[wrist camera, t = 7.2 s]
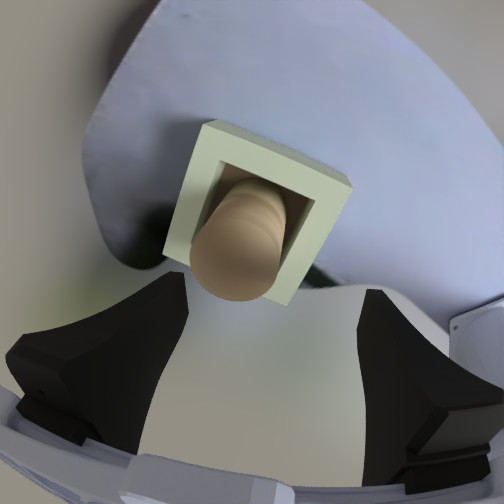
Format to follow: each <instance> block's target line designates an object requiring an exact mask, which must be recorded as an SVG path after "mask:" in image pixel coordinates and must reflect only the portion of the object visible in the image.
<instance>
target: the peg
mask: <svg viewBox="0 0 504 504" xmlns="http://www.w3.org/2000/svg"><path fill="white" fill-rule="evenodd" d="M286 217H287V202H286V199H285V196H284V194H283V193H282V191H281V190H280V189H279V188H278V187H277V186H276V185H275V184H273V183H272V182H270V181H268V180H265V179H262V178H247V179H244V180H241V181H239V182H238V183H236V184H235V185H234V186H233V187H232V188H231V189H230V190H229V192H228V193H227V194H226V196H225V197H224V199H223V200H222V201H221V203H220V204H219V205H218V207H217V208H216V210H215V211H214V213H213V214H212V215H211V217H210V218H209V220H208V221H207V222H206V224H205V225H204V227H203V228H202V230H201V231H200V232H199V234H198V235H197V237H196V238H195V240H194V242H193V243H192V246H191V249H190V254H189V260H190V266H191V269H192V272H193V274H194V276H195V278H196V279H197V280H198V282H199V283H200V284H201V285H202V286H203V287H204V288H205V289H206V290H207V291H209V292H210V293H212V294H213V295H215V296H217V297H219V298H222V299H225V300H230V301H249V300H253V299H255V298H258V297H260V296H262V295H263V294H265V293H266V292H267V291H268V290H269V289H270V288H271V287H272V286H273V284H274V282H275V280H276V278H277V274H278V269H279V262H280V256H281V250H282V243H283V237H284V230H285V224H286Z"/></svg>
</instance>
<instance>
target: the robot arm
mask: <svg viewBox="0 0 504 504" xmlns="http://www.w3.org/2000/svg"><path fill="white" fill-rule="evenodd" d="M188 314H189V310H188V303H187V295H186V287H185V279H184V273H181V272H171V271H170V272H168V273H166V274H164V275H163V276H161V277H159V278H158V279H156V280H155V281H153V282H152V283H150V284H148V285H147V286H145V287H144V288H142V289H141V290H139V291H137V292H136V293H134V294H133V295H131V296H129V297H128V298H126V299H124V300H122V301H121V302H119V303H117V304H115V305H114V306H112V307H110V308H108V309H106V310H104V311H102V312H99V313H97V314H95V315H93V316H90V317H88V318H85V319H83V320H80V321H77V322H74V323H72V324H68V325H65V326H62V327H58V328H54V329H50V330H46V331H40V332H35V333H29V334H23V335H22V336H21V337H20V338H19V340H18V341H17V342H16V343H15V344H14V346H13V347H12V348H11V349H10V350H9V351H8V352H7V354H6V357H5V358H6V364H7V366H8V368H9V370H10V372H11V374H12V375H13V376H14V378H15V380H16V381H17V383H18V384H19V386H20V387H21V389H22V390H23V392H24V393H25V395H24V396H23V398H22V399H20V398H19V397H18V396H17V395H16V394H14V393H13V392H11V391H9V390H7V389H6V388H4V387H2V386H1V385H0V459H1V460H2V461H4V462H5V463H6V464H8V465H9V466H10V467H12V468H13V469H15V470H16V471H18V472H19V473H21V474H22V475H23V476H25V477H26V478H28V479H29V480H31V481H32V482H34V483H35V484H37V485H39V486H40V487H42V488H43V489H45V490H46V491H48V492H50V493H51V494H53V495H54V496H56V497H58V498H60V499H61V500H63V501H65V502H67V503H68V504H504V298H502V299H499V300H497V301H495V302H492V303H490V304H487V305H485V306H482V307H480V308H477V309H475V310H472V311H469V312H467V313H464V314H461V315H459V316H456V317H454V318H452V319H451V320H450V323H449V329H450V349H449V358H448V357H447V356H446V355H444V354H443V353H442V352H441V351H440V350H438V349H437V348H436V347H435V346H434V345H432V344H431V343H430V342H429V341H428V340H427V339H426V338H425V337H424V336H423V335H422V334H421V333H420V332H419V331H418V330H417V329H416V328H415V327H414V326H413V325H412V324H411V323H410V322H409V321H408V320H407V318H406V317H405V316H404V315H403V314H402V313H401V312H400V310H399V309H398V308H397V307H396V306H395V305H394V303H393V302H392V301H391V300H390V299H389V297H387V295H386V294H385V293H384V292H383V291H382V290H377V289H376V290H375V289H367V290H366V295H365V299H364V303H363V307H362V311H361V315H360V319H359V323H358V326H357V349H358V356H359V363H360V369H361V375H362V381H363V388H364V394H365V404H366V442H365V459H364V471H363V479H362V487H305V486H304V487H303V486H289V485H288V484H285V483H283V482H281V481H278V480H276V479H272V478H267V477H262V476H257V475H250V474H243V473H236V472H230V471H224V470H218V469H214V468H208V467H203V466H199V465H194V464H189V463H185V462H181V461H177V460H173V459H169V458H166V457H162V456H156V455H150V454H141V455H137V452H138V448H139V443H140V439H141V435H142V431H143V428H144V424H145V420H146V416H147V413H148V410H149V407H150V404H151V401H152V397H153V395H154V392H155V389H156V386H157V383H158V381H159V379H160V376H161V374H162V372H163V370H164V368H165V366H166V364H167V362H168V360H169V358H170V356H171V354H172V352H173V350H174V348H175V347H176V344H177V343H178V341H179V339H180V336H181V334H182V332H183V329H184V326H185V324H186V320H187V317H188ZM455 326H456V327H455Z"/></svg>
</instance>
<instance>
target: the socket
mask: <svg viewBox="0 0 504 504" xmlns="http://www.w3.org/2000/svg"><path fill="white" fill-rule="evenodd" d="M247 178H262V179H265V180H268V181H270V182H272V183H273V184H275V185H276V186H277V187H278V188H279V189H280V190H281V191H282V193H283V194H284V196H285V199H286V202H287V217H286V224H285V230H284V237H283V243H282V250H281V256H280V262H279V269H278V274H277V278H276V280H275V282H274V284H273V286H272V287H271V288H270V289H269V290H268V291H267V292H266V293H265V294H263V295H262V296H261V297H264V298H266V299H269V300H271V301H274V302H276V303H279V304H281V305H284V306H287V305H288V304H289V302H290V300H291V299H292V297H293V295H294V293H295V292H296V290H297V288H298V287H299V285H300V283H301V282H302V280H303V278H304V276H305V275H306V273H307V271H308V270H309V268H310V266H311V264H312V263H313V261H314V259H315V257H316V256H317V254H318V252H319V250H320V249H321V247H322V245H323V243H324V241H325V240H326V238H327V236H328V234H329V232H330V231H331V229H332V227H333V225H334V223H335V221H336V220H337V218H338V216H339V214H340V212H341V210H342V209H343V207H344V205H345V203H346V201H347V199H348V197H349V195H350V194H351V192H352V190H353V187H352V185H351V183H350V182H349V180H348V178H347V176H346V175H345V174H343V173H341V172H339V171H337V170H335V169H333V168H331V167H329V166H327V165H325V164H323V163H320V162H318V161H316V160H314V159H312V158H310V157H307V156H305V155H303V154H301V153H299V152H296V151H294V150H292V149H290V148H287V147H285V146H283V145H280V144H278V143H276V142H273V141H271V140H268V139H266V138H264V137H261V136H259V135H256V134H254V133H251V132H249V131H246V130H244V129H241V128H239V127H236V126H233V125H231V124H228V123H225V122H223V121H220V120H214V121H211V122H208V123H205V124H203V125H202V128H201V131H200V134H199V136H198V139H197V142H196V145H195V148H194V151H193V154H192V157H191V160H190V163H189V166H188V169H187V172H186V175H185V178H184V182H183V185H182V188H181V191H180V194H179V198H178V201H177V204H176V208H175V211H174V214H173V218H172V221H171V225H170V228H169V232H168V236H167V239H166V243H165V246H164V250H163V255H165V256H168V257H170V258H172V259H175V260H177V261H179V262H181V263H183V264H186V265H188V266H190V260H189V254H190V249H191V246H192V243H193V242H194V240H195V238H196V237H197V235H198V234H199V232H200V231H201V230H202V228H203V227H204V225H205V224H206V222H207V221H208V220H209V218H210V217H211V215H212V214H213V213H214V211H215V210H216V208H217V207H218V205H219V204H220V203H221V201H222V200H223V199H224V197H225V196H226V194H227V193H228V192H229V190H230V189H231V188H232V187H233V186H234V185H235V184H236V183H238V182H239V181H241V180H244V179H247ZM190 267H191V266H190Z"/></svg>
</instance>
